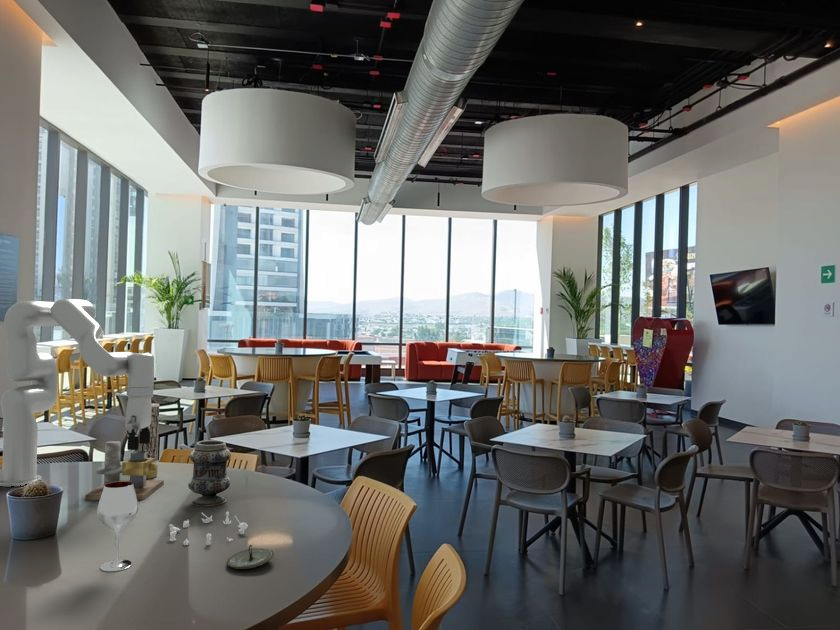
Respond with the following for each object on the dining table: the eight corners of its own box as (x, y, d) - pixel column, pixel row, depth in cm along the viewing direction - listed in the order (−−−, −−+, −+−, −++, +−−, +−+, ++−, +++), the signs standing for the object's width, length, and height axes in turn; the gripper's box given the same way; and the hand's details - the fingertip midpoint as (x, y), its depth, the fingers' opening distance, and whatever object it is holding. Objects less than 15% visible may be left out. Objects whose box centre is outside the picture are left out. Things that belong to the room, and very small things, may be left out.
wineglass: (125, 556, 146) (128, 478, 146) (143, 565, 141) (145, 484, 141) (89, 566, 140) (91, 484, 140) (106, 576, 134) (108, 491, 135)
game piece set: (261, 527, 170) (261, 512, 170) (218, 552, 151) (218, 536, 151) (198, 519, 175) (198, 505, 175) (149, 543, 156) (149, 527, 156)
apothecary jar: (236, 497, 196) (237, 439, 196) (220, 509, 184) (221, 446, 184) (198, 495, 197) (200, 437, 197) (180, 506, 185) (182, 445, 185)
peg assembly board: (83, 499, 190) (85, 448, 190) (109, 484, 208) (110, 437, 208) (144, 500, 191) (145, 448, 191) (164, 484, 209) (165, 437, 209)
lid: (279, 573, 142) (284, 550, 143) (241, 573, 135) (246, 549, 137) (255, 562, 150) (259, 540, 151) (217, 561, 143) (222, 538, 144)
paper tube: (135, 475, 220) (137, 403, 220) (156, 474, 223) (158, 403, 223) (136, 480, 214) (138, 406, 214) (157, 478, 217) (159, 405, 217)
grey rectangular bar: (129, 488, 198) (130, 453, 198) (132, 486, 201) (133, 451, 201) (143, 488, 199) (144, 453, 199) (145, 485, 202) (146, 451, 202)
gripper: (138, 389, 209) (137, 441, 208) (116, 395, 191) (115, 452, 191) (161, 389, 209) (160, 441, 209) (142, 395, 192) (140, 452, 192)
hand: (138, 446), depth 200 cm, fingers open, 9 cm apart
